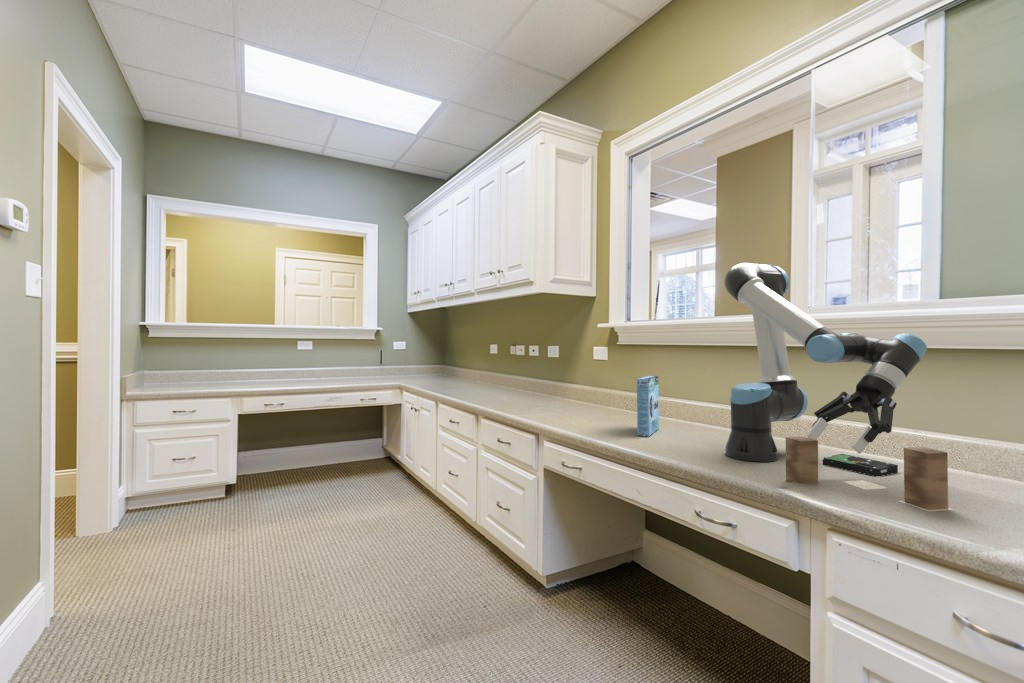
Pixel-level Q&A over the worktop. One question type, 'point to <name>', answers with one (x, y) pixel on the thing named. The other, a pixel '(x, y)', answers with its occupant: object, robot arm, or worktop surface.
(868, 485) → the board
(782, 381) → the robot arm
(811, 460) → the post
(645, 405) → the light blue cardboard box
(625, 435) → the worktop surface
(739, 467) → the worktop surface
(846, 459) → the disk drive
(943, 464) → the built post
